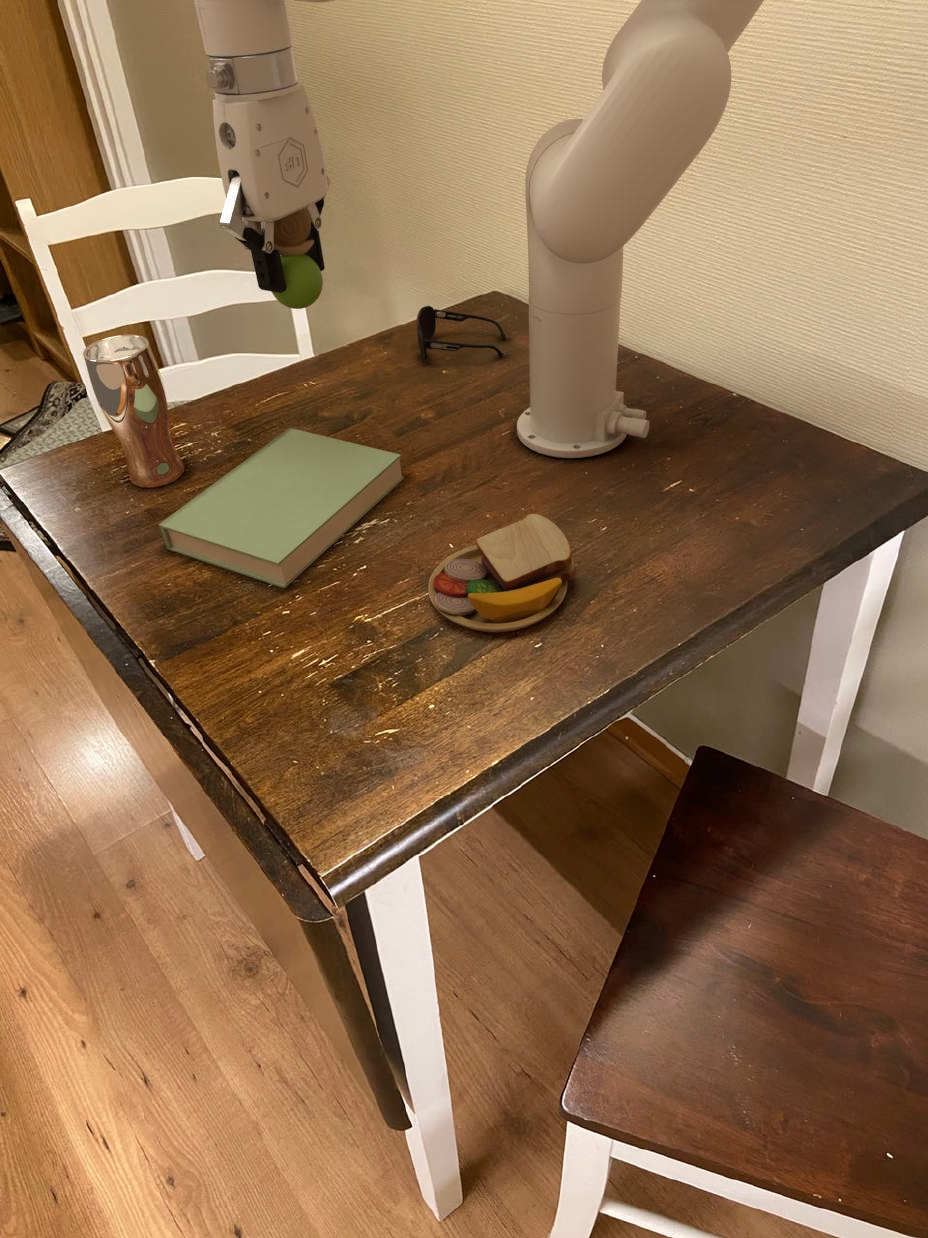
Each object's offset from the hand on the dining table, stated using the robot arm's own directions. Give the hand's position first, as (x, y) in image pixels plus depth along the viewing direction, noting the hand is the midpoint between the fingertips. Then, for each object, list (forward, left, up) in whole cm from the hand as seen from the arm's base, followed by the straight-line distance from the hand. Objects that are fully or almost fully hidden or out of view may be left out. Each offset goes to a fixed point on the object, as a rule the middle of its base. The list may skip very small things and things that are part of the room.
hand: (292, 277), depth 90 cm
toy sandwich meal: (-31, +15, -20) cm, 40 cm away
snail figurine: (0, 0, -3) cm, 3 cm away
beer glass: (+14, +13, -20) cm, 27 cm away
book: (-5, +13, -19) cm, 24 cm away
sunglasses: (-2, -29, -20) cm, 35 cm away
